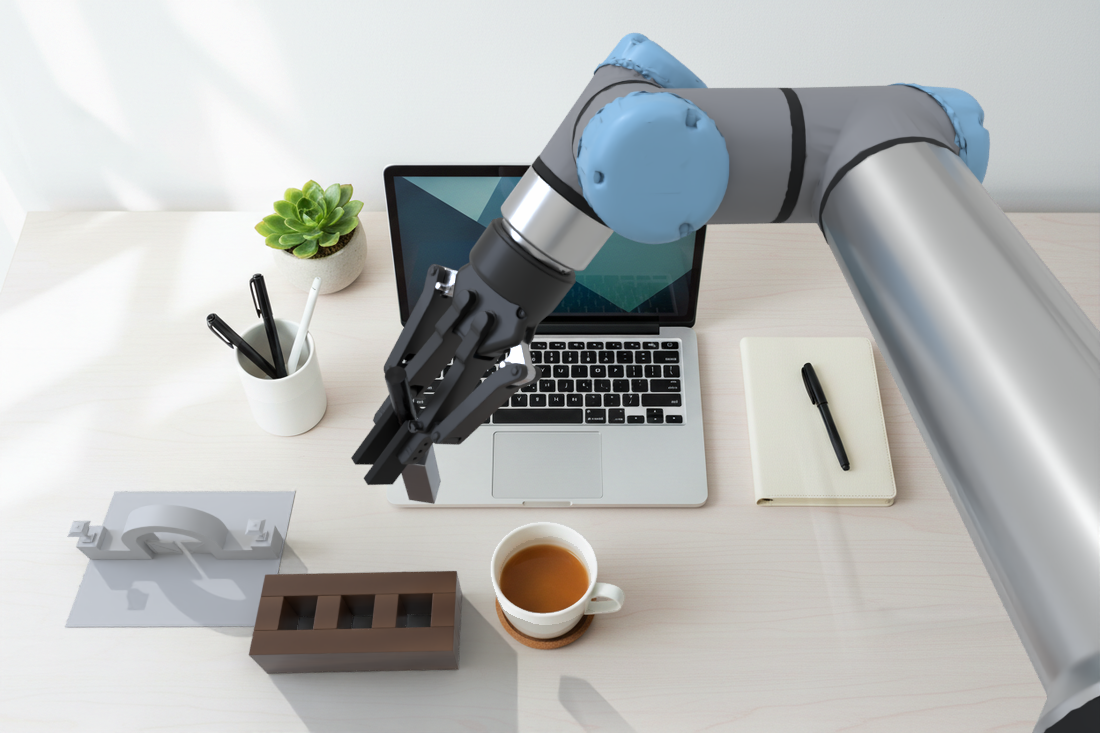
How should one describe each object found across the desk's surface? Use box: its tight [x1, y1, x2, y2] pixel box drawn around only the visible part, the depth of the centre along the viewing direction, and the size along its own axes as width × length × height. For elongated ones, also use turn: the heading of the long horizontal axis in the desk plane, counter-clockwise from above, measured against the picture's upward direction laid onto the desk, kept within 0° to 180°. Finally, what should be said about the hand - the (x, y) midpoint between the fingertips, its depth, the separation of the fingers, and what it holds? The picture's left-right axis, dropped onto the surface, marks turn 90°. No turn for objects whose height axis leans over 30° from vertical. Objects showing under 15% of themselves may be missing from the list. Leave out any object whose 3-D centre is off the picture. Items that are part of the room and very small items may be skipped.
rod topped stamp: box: [384, 366, 442, 505], centre depth 64 cm, size 2×2×18 cm
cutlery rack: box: [248, 570, 463, 675], centre depth 75 cm, size 8×18×6 cm, turn 91°
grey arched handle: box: [66, 503, 286, 560], centre depth 79 cm, size 20×2×8 cm, turn 90°
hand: (372, 470), depth 64 cm, fingers closed on rod topped stamp, 1 cm apart
